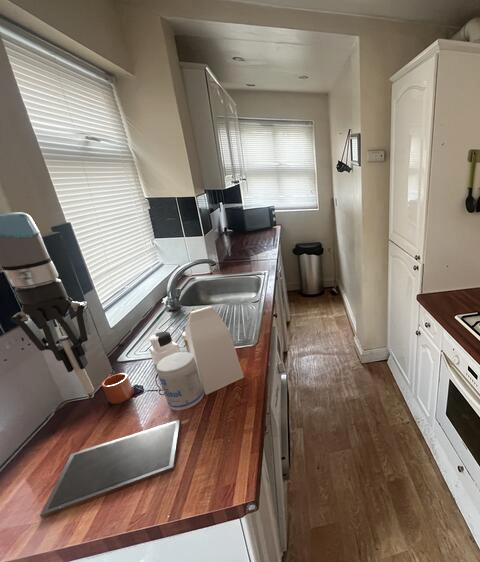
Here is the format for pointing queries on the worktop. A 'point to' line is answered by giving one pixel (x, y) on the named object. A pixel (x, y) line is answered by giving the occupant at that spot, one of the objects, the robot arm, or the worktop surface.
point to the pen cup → (118, 388)
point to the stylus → (76, 365)
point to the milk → (212, 349)
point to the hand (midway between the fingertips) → (78, 367)
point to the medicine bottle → (162, 346)
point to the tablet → (114, 467)
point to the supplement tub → (180, 380)
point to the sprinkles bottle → (186, 341)
